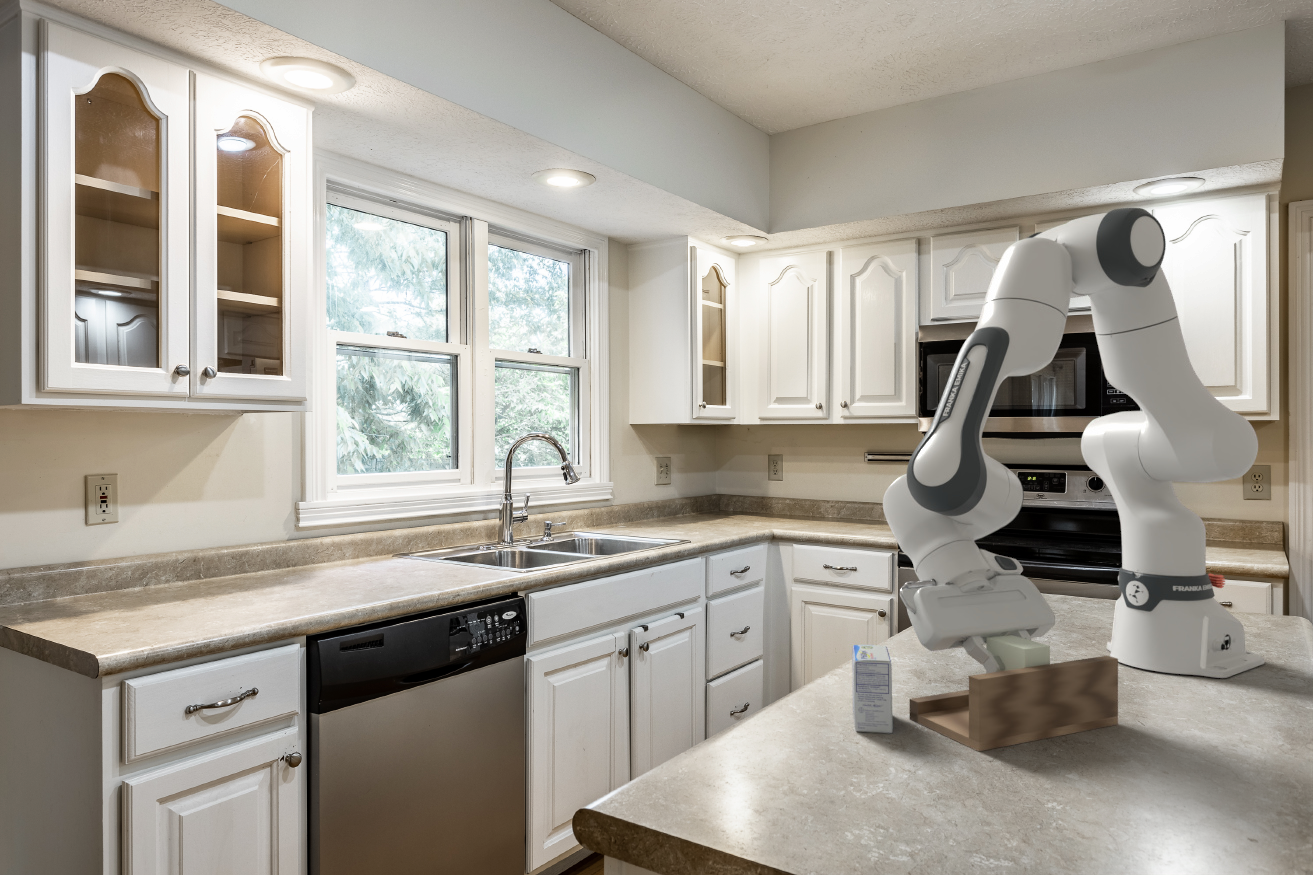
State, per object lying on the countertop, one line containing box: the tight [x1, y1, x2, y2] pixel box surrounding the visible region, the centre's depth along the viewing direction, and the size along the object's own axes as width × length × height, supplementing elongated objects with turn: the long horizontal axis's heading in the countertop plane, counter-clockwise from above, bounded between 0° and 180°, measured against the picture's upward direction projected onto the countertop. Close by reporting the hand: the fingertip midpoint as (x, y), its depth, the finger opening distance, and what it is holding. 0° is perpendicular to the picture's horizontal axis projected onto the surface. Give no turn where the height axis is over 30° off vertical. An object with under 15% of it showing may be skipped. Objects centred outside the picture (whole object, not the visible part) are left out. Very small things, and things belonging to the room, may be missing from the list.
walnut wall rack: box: [909, 655, 1119, 752], centre depth 102 cm, size 22×12×8 cm, turn 113°
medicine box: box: [851, 644, 894, 735], centre depth 102 cm, size 8×4×9 cm, turn 168°
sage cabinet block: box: [985, 635, 1051, 674], centre depth 101 cm, size 4×6×8 cm, turn 23°
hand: (1015, 670), depth 102 cm, fingers closed on sage cabinet block, 4 cm apart
